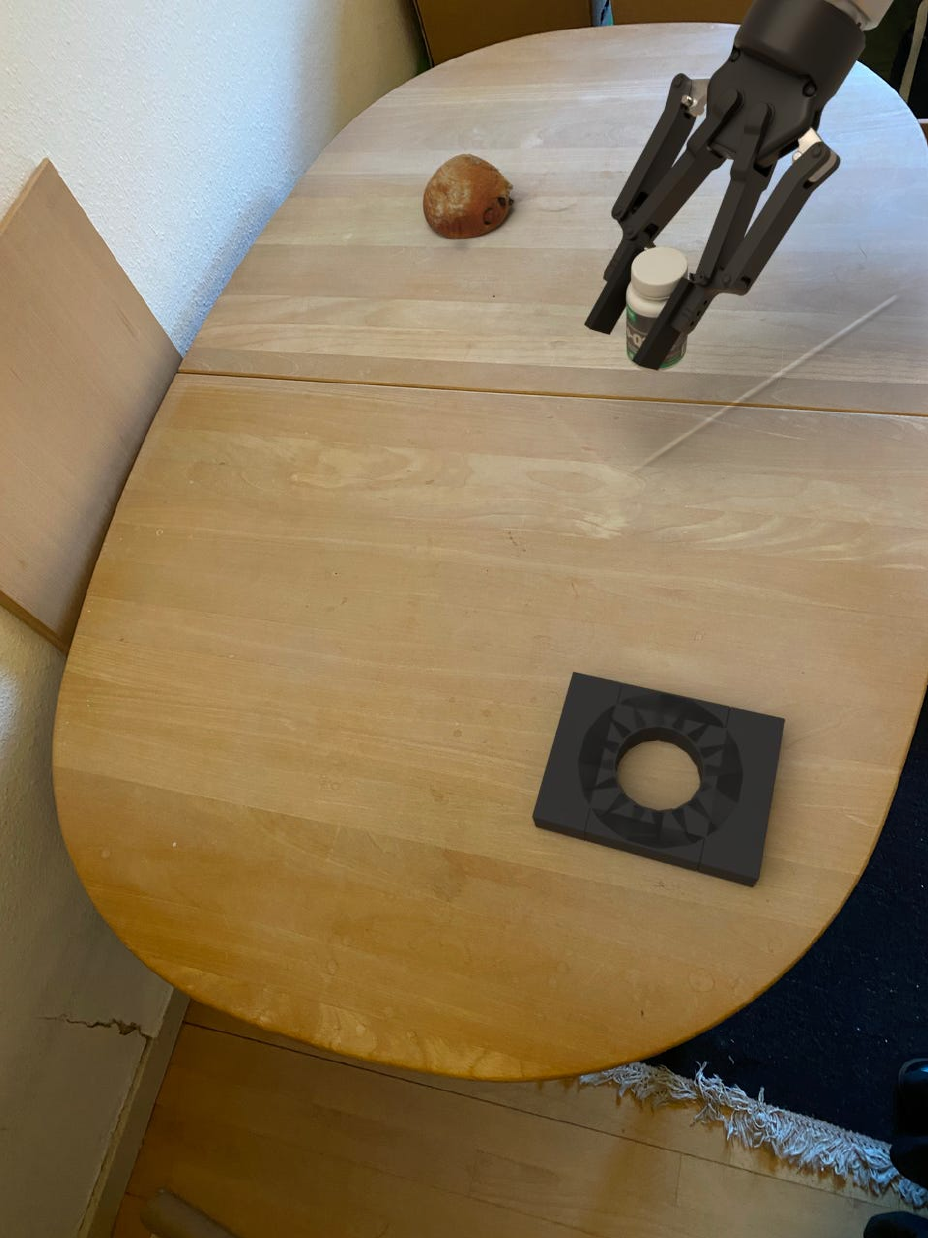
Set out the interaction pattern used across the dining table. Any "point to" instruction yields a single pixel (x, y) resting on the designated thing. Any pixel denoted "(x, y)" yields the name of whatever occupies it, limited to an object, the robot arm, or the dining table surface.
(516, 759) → the dining table surface
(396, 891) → the dining table surface
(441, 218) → the bread roll
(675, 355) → the pill bottle
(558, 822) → the black rectangular holder
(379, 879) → the dining table surface
